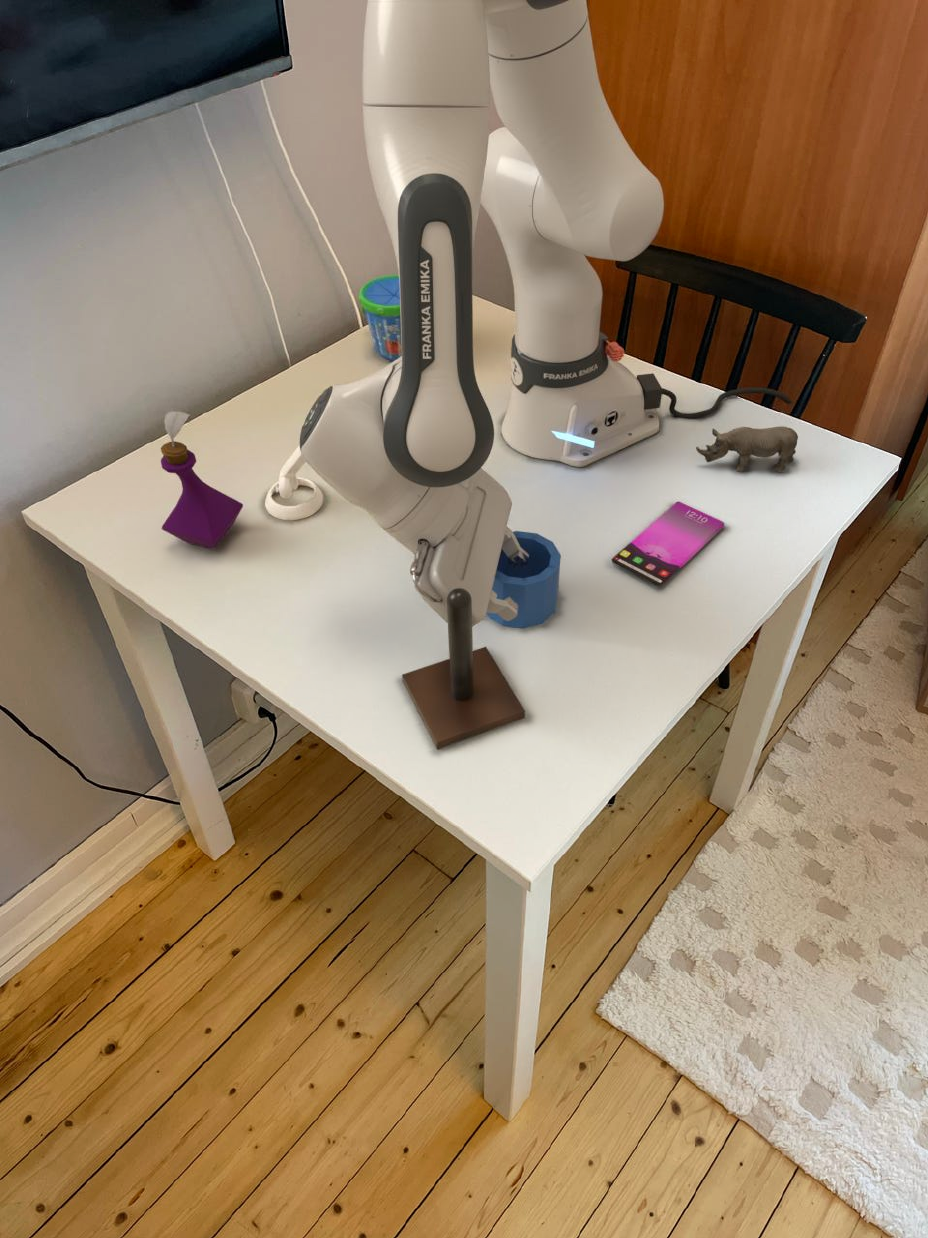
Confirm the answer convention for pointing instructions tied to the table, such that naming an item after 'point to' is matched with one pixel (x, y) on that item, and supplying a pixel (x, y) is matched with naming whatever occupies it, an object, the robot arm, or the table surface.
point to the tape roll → (529, 582)
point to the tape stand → (462, 684)
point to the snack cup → (383, 314)
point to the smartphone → (668, 543)
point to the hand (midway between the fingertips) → (519, 588)
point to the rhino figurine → (754, 445)
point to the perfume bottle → (194, 495)
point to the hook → (286, 488)
